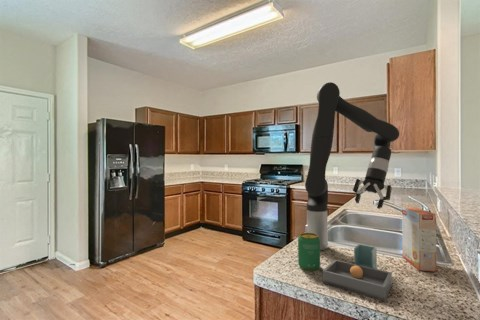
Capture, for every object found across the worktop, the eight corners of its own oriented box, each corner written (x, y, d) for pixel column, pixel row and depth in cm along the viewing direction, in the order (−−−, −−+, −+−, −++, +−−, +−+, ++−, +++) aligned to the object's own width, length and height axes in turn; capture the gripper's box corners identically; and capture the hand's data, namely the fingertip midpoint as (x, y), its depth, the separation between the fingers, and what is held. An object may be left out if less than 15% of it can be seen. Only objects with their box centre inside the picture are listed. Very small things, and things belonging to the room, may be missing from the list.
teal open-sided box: (359, 266, 95) (358, 244, 95) (376, 270, 91) (376, 247, 91) (354, 272, 91) (354, 248, 91) (373, 276, 87) (372, 252, 87)
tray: (322, 283, 83) (322, 270, 83) (335, 270, 92) (335, 259, 92) (385, 301, 71) (385, 287, 72) (392, 285, 81) (391, 272, 81)
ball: (361, 269, 81) (366, 279, 82) (358, 261, 85) (363, 271, 85) (349, 272, 82) (353, 282, 83) (347, 264, 86) (351, 274, 87)
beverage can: (319, 263, 99) (318, 232, 99) (321, 272, 91) (320, 239, 91) (298, 262, 100) (297, 231, 100) (298, 270, 93) (298, 237, 93)
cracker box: (438, 272, 89) (436, 213, 89) (418, 271, 91) (417, 213, 91) (418, 257, 103) (417, 206, 103) (402, 256, 104) (401, 206, 104)
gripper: (357, 164, 112) (348, 199, 109) (394, 170, 102) (384, 208, 99) (362, 169, 117) (353, 203, 115) (397, 175, 107) (388, 212, 105)
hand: (367, 205), depth 107 cm, fingers open, 8 cm apart
